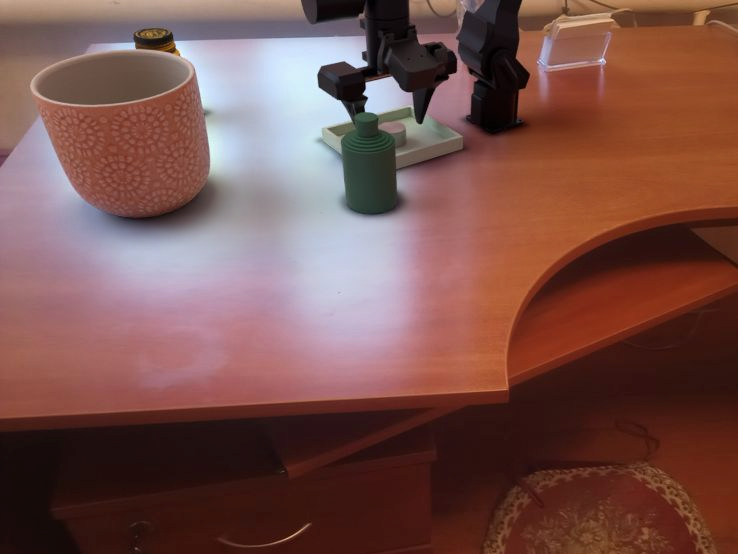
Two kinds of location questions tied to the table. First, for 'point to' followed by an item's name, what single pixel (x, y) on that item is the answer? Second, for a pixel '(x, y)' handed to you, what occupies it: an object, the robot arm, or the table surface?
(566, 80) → the table surface
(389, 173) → the bottle
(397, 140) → the cap
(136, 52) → the planter
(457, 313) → the table surface
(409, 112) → the tray
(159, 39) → the condiment
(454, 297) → the table surface
